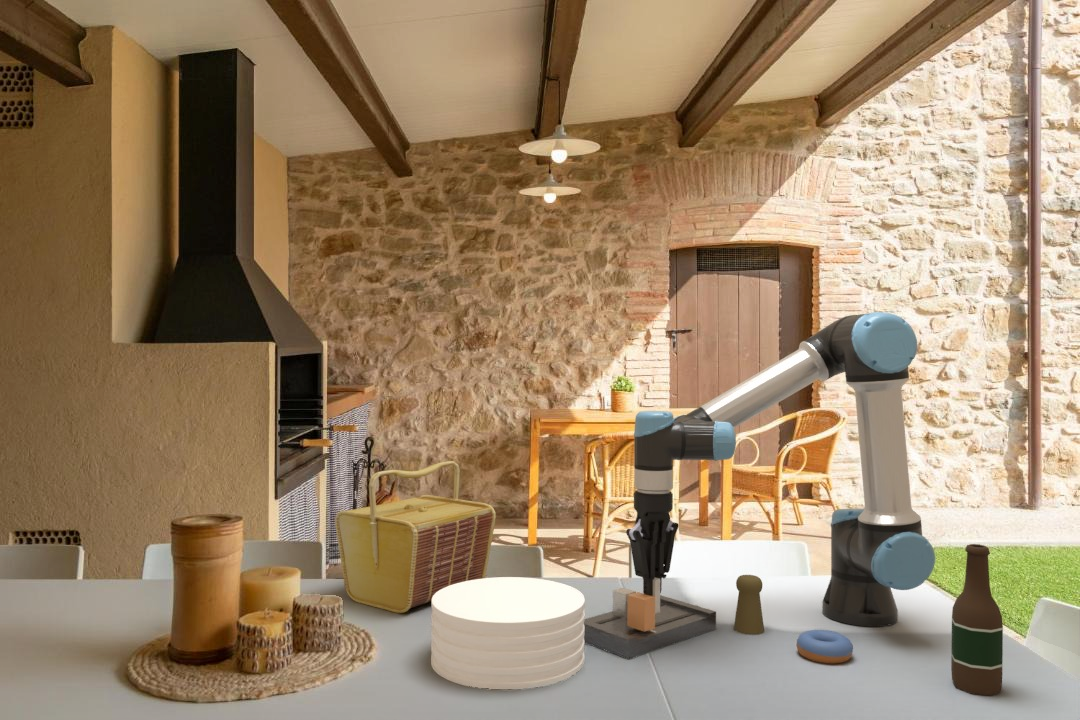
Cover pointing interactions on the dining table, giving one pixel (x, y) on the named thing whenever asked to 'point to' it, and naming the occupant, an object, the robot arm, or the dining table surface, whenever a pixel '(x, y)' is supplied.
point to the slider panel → (669, 628)
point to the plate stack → (507, 632)
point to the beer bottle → (977, 630)
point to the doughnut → (824, 646)
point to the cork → (749, 606)
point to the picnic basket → (412, 545)
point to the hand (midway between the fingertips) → (652, 610)
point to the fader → (641, 611)
